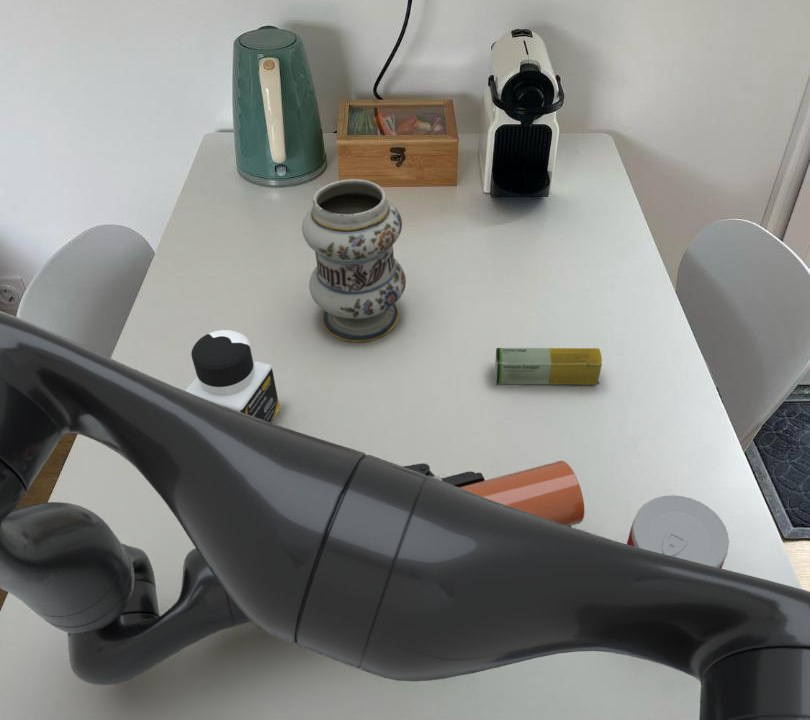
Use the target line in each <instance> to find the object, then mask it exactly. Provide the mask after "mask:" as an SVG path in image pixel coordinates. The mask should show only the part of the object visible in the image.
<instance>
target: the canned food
mask: <svg viewBox="0 0 810 720" xmlns="http://www.w3.org/2000/svg"><path fill="white" fill-rule="evenodd" d="M626 544H627V545H630V546H634V547H638V548H642V549H645V550H649V551H653V552H657V553H661V554H665V555H669V556H673V557H677V558H681V559H685V560H689V561H693V562H697V563H701V564H705V565H709V566H713V567H717V568H721V569H723V566H724V564H725V560H726V558H727V556H728V551H729V545H730V538H729V533H728V531H727V528H726V525H725V524H724V522H723V520H722V518H721V517H720V516H719V515H718V514H717V513H716V512H715V511H714V510H713V509H711V508H710V507H709V506H708V505H706V504H705V503H702V502H701V501H699V500H696V499H694V498H692V497H687V496H683V495H674V494H673V495H672V494H671V495H670V494H669V495H661V496H658V497H655V498H653V499H651V500H648V501H647V502H645V504H643V505H642V506H641V507H640V508H639V509H638V511H637V513H636V514H635V516H634V519H633V521H632V524H631V527H630V530H629V534H628V539H627V542H626Z"/></svg>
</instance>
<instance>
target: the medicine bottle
mask: <svg viewBox="0 0 810 720" xmlns="http://www.w3.org/2000/svg"><path fill="white" fill-rule="evenodd" d="M190 355H191V360H192V363H193V368H194V370H195V374H196V376H195V377H194V378H193V379H192V381H191V382H190V383H189V385H188V386H187V387H186V388H185V390H184V391H186V392H189V393H191V394H194V395H196V396H198V397H201V398H204V399H206V400H209V401H211V402H214V403H216V404H219V405H222V406H225V407H228V408H230V409H233V410H236V411H239V412H242V413H245V414H247V415H250V416H253V417H256V418H259V419H261V420H264V421H267V422H270V423H272V422H273V421H274V419H275V418H276V416H277V414H278V413H279V411H280V410H281V407H280V402H279V397H278V391H277V387H276V380H275V376H274V371H273V367H272V365H271V364H268V363H264V362H260V361H257V360H254V357H253V353H252V348H251V343H250V340H249V339H248V337H246V336H245V335H244V334H242V333H240V332H238V331H236V330H231V329H220V330H215V331H211V332H209V333H207V334H205V335H203V336H202V337H200V338H199V339H197V341H196V343H195V344H194V345H193V346H192V348H191V353H190Z"/></svg>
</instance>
